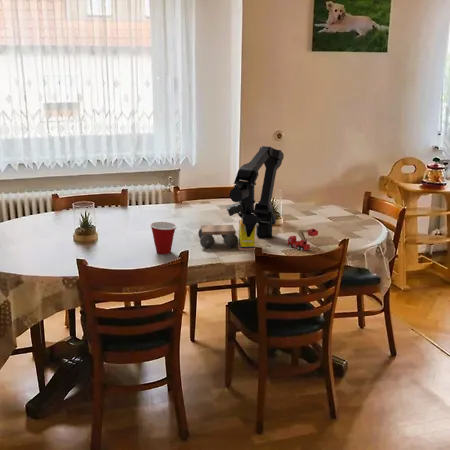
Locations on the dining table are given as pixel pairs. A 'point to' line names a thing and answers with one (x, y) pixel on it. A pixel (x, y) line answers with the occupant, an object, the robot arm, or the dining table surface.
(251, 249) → the thin pink plate
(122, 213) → the dining table surface
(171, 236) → the plastic cup
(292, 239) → the toy fire truck
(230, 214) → the robot arm
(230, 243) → the wooden toy car
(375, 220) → the dining table surface
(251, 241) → the supplement box
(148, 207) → the dining table surface
